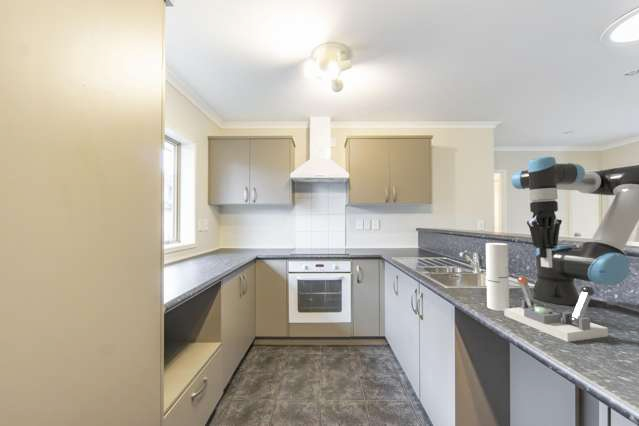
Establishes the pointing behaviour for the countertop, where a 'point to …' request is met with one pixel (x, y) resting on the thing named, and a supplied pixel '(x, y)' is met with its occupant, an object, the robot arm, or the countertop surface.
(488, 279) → the cylindrical container
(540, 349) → the countertop surface
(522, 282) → the lever
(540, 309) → the button
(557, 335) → the panel
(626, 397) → the countertop surface
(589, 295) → the lever
